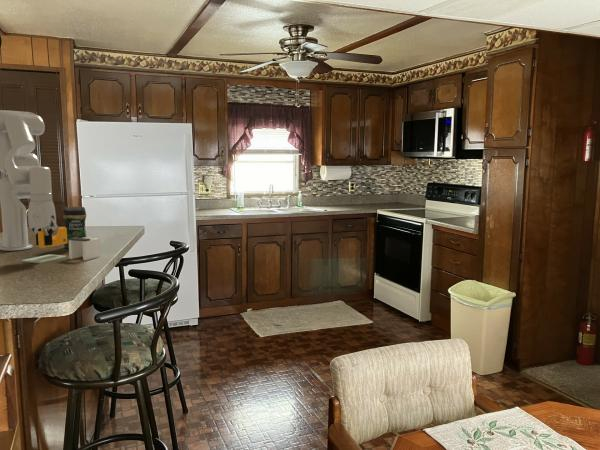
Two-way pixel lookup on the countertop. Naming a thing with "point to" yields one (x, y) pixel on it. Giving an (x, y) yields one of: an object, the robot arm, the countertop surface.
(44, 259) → the mat
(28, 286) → the countertop surface
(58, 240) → the orange branched block
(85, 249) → the hollow square frame
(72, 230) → the coffee jar
